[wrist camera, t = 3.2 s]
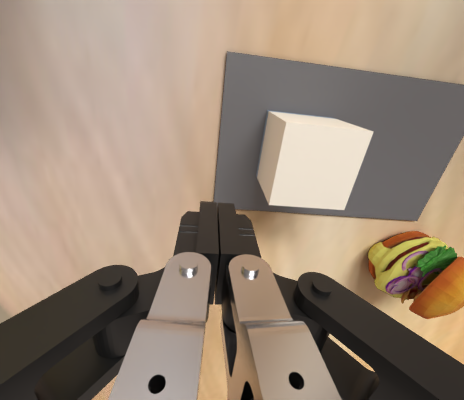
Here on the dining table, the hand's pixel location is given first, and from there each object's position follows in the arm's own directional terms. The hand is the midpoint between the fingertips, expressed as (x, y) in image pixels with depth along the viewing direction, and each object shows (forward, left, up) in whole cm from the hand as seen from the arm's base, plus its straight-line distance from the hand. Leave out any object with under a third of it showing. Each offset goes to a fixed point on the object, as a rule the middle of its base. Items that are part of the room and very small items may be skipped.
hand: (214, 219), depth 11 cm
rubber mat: (-14, 0, -16) cm, 21 cm away
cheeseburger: (-28, +14, -16) cm, 35 cm away
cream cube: (-9, 0, -16) cm, 18 cm away
